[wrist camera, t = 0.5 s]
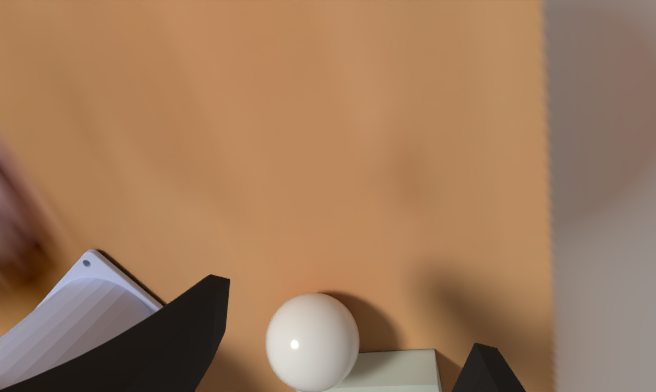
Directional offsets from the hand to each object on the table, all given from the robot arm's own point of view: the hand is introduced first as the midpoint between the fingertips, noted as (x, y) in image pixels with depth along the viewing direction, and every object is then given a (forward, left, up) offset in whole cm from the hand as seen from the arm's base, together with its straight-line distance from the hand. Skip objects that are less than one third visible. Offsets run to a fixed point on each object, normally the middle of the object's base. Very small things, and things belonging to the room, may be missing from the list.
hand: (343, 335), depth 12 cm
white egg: (-7, -4, -10) cm, 12 cm away
